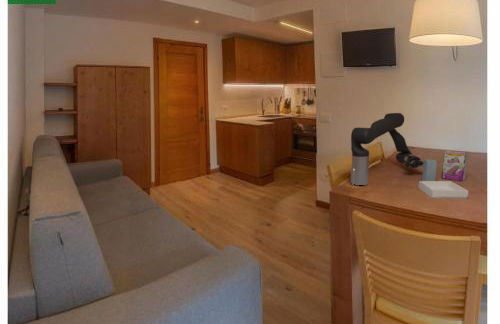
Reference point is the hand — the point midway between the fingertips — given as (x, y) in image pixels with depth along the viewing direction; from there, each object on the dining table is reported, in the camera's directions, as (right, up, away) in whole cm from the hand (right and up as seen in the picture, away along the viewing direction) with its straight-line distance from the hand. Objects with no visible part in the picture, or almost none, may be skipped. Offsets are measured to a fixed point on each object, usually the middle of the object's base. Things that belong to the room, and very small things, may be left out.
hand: (421, 166), depth 187 cm
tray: (-4, -14, -25) cm, 29 cm away
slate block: (-1, -10, -9) cm, 14 cm away
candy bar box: (+18, -8, -1) cm, 20 cm away
